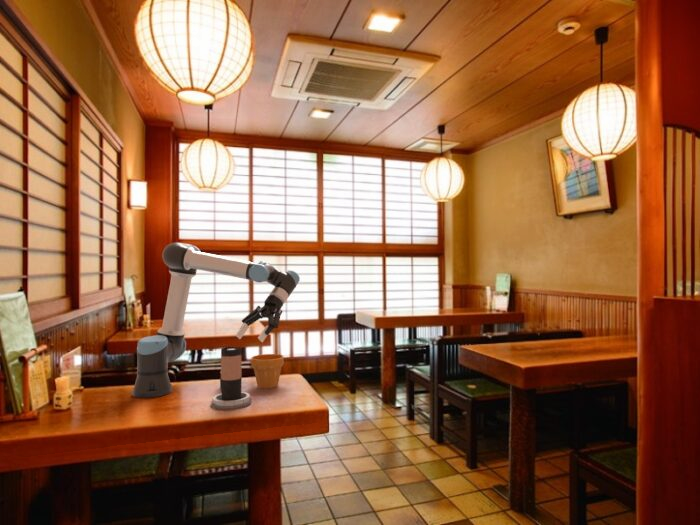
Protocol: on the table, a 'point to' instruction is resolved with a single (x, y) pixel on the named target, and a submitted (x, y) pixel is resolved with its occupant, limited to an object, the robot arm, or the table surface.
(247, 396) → the gray ring
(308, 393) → the table surface
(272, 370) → the flower pot
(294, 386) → the table surface
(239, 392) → the travel mug
